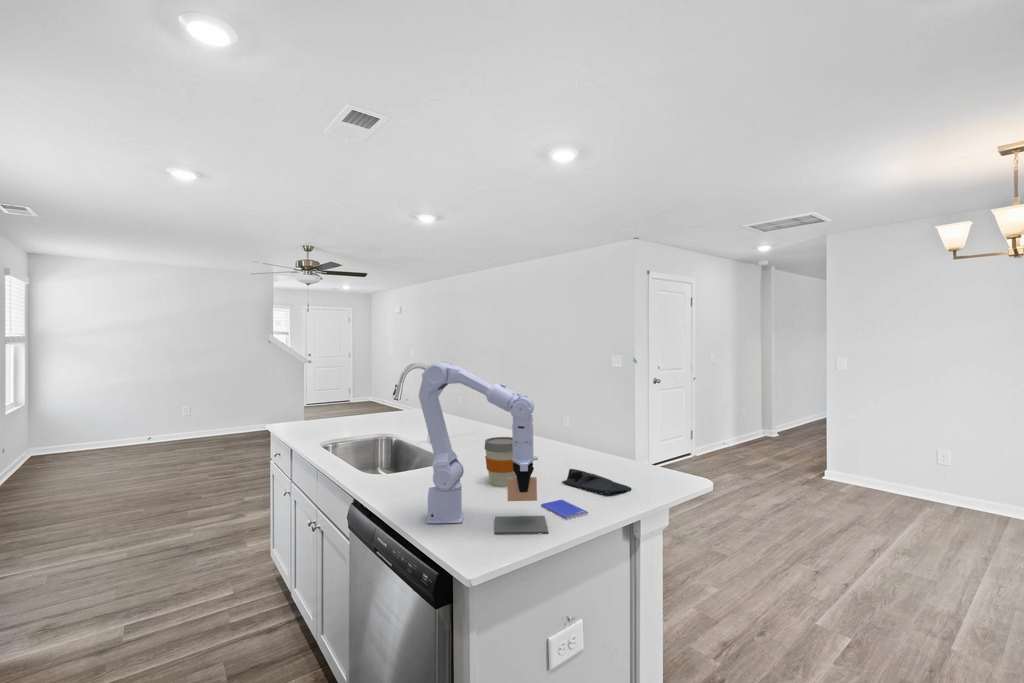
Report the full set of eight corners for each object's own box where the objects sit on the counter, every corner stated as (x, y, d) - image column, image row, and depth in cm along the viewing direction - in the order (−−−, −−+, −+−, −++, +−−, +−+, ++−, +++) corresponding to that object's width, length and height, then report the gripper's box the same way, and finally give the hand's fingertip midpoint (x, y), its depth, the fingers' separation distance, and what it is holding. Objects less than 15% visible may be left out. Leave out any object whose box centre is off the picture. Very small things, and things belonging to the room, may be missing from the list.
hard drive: (588, 511, 136) (562, 499, 147) (565, 516, 132) (540, 503, 143) (588, 516, 136) (562, 504, 147) (565, 522, 132) (540, 509, 143)
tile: (507, 501, 129) (507, 479, 129) (507, 499, 131) (507, 477, 131) (536, 500, 129) (536, 478, 129) (536, 498, 131) (536, 477, 131)
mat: (494, 534, 123) (494, 532, 123) (495, 518, 134) (494, 516, 134) (548, 533, 123) (548, 531, 123) (544, 517, 134) (544, 515, 134)
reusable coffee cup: (509, 490, 159) (508, 445, 158) (477, 485, 165) (477, 442, 165) (526, 480, 169) (526, 438, 169) (496, 476, 176) (496, 435, 176)
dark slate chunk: (603, 500, 149) (603, 485, 149) (558, 483, 167) (557, 470, 167) (636, 491, 158) (635, 477, 158) (589, 476, 176) (589, 463, 176)
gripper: (539, 446, 123) (539, 499, 123) (535, 435, 137) (536, 482, 137) (512, 447, 123) (512, 499, 123) (511, 435, 137) (511, 482, 137)
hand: (523, 490), depth 130 cm, fingers closed on tile, 2 cm apart
